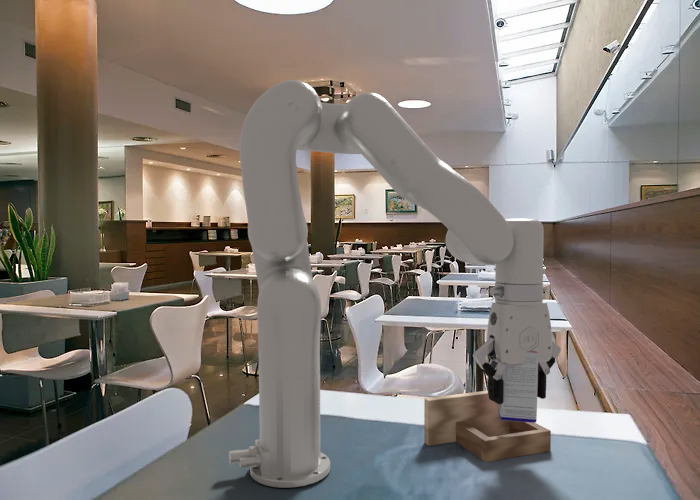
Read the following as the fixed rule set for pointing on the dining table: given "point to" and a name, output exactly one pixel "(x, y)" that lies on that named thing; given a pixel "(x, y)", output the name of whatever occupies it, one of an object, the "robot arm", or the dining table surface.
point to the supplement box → (520, 391)
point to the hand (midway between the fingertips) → (517, 398)
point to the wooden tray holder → (480, 427)
